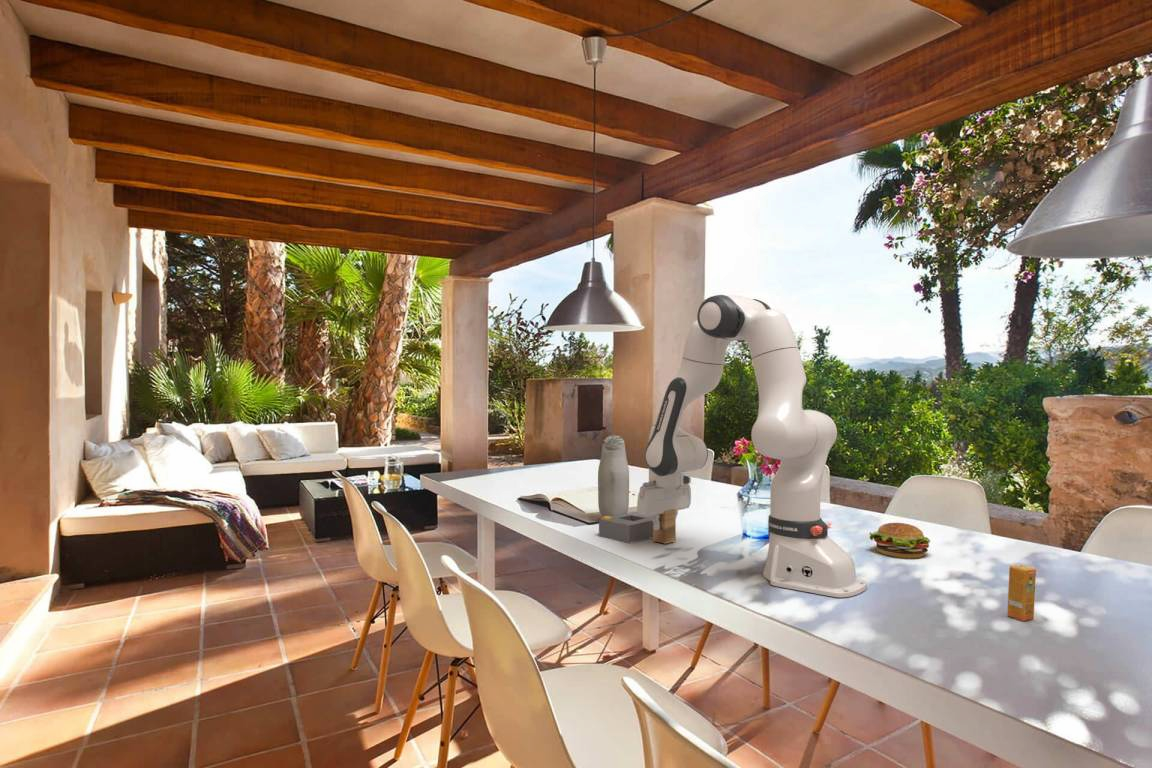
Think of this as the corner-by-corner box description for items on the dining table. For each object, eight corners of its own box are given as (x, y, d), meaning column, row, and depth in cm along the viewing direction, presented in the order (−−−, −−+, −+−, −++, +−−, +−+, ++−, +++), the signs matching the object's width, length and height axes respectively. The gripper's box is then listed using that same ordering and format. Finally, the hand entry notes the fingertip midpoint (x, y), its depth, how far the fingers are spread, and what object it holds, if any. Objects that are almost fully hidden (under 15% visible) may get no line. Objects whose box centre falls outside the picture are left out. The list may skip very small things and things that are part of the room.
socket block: (665, 534, 196) (665, 515, 196) (629, 543, 185) (629, 523, 185) (634, 527, 205) (634, 509, 205) (598, 535, 194) (598, 517, 194)
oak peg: (675, 540, 186) (675, 509, 186) (665, 543, 183) (665, 511, 183) (663, 538, 189) (663, 507, 189) (653, 540, 186) (653, 509, 186)
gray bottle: (595, 518, 218) (596, 434, 218) (626, 517, 220) (626, 433, 219) (600, 524, 209) (600, 436, 208) (631, 523, 210) (632, 436, 210)
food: (898, 544, 184) (898, 516, 184) (940, 557, 171) (940, 527, 171) (858, 548, 180) (858, 519, 180) (898, 562, 167) (898, 530, 167)
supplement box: (1024, 622, 125) (1025, 569, 125) (1006, 616, 128) (1007, 565, 128) (1036, 619, 126) (1036, 567, 126) (1017, 613, 130) (1018, 563, 129)
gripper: (649, 484, 177) (649, 535, 177) (694, 476, 191) (694, 524, 191) (631, 482, 181) (631, 532, 181) (677, 474, 195) (677, 521, 195)
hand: (664, 528), depth 186 cm, fingers closed on oak peg, 4 cm apart
